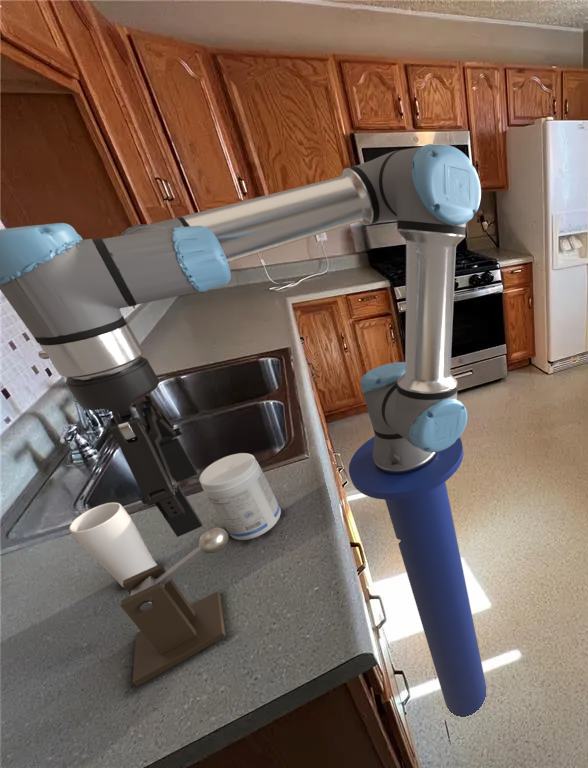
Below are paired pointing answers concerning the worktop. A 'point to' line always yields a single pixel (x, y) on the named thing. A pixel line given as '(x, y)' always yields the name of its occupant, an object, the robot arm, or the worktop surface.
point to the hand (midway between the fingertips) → (188, 501)
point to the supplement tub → (241, 496)
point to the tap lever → (189, 557)
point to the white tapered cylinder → (112, 541)
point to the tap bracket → (169, 624)
